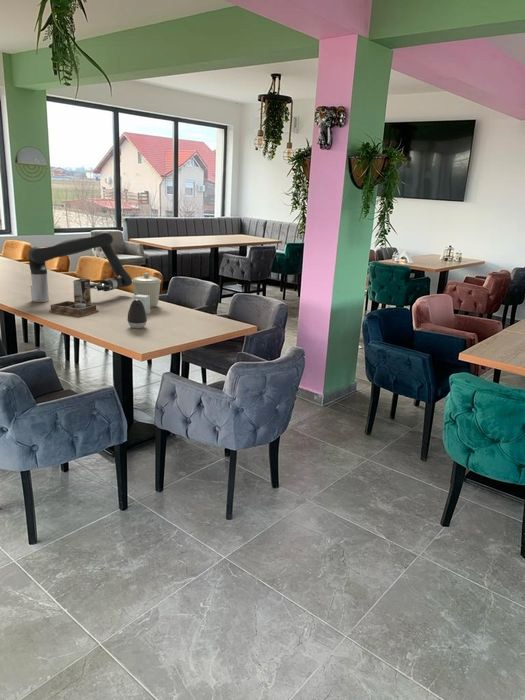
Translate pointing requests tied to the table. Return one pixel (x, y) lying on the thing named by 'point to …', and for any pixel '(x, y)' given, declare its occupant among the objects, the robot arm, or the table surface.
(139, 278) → the canister
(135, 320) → the black and white dome
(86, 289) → the coffee box
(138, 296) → the small box
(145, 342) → the table surface
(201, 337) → the table surface
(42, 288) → the robot arm
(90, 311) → the caddy
